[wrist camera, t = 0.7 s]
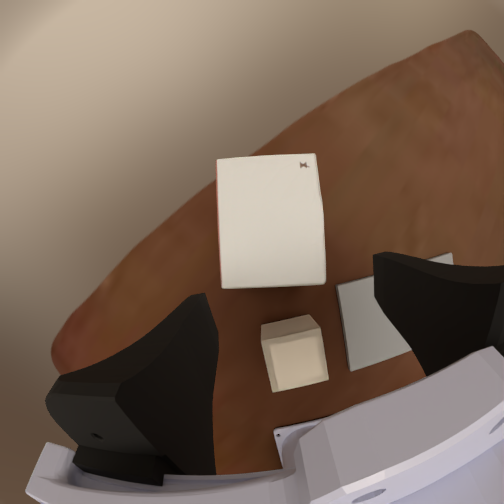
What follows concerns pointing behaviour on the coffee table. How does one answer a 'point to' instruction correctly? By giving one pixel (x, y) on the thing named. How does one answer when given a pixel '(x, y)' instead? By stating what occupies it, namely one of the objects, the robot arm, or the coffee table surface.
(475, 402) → the robot arm
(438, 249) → the coffee table surface
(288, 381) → the beige cardboard cube
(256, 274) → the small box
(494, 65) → the coffee table surface
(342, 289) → the base board
